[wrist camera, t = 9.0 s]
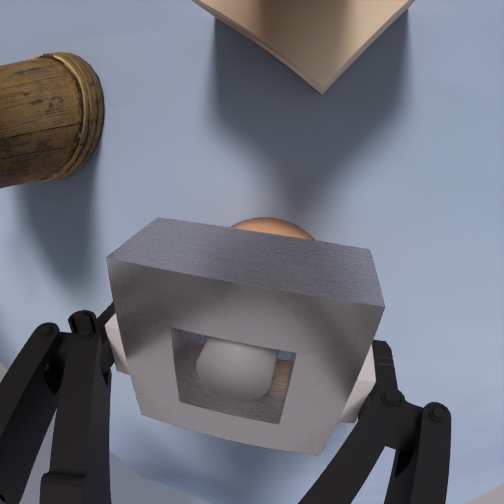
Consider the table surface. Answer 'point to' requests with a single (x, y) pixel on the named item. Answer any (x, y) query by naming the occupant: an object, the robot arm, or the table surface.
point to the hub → (240, 354)
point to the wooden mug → (47, 117)
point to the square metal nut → (244, 326)
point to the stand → (310, 31)
